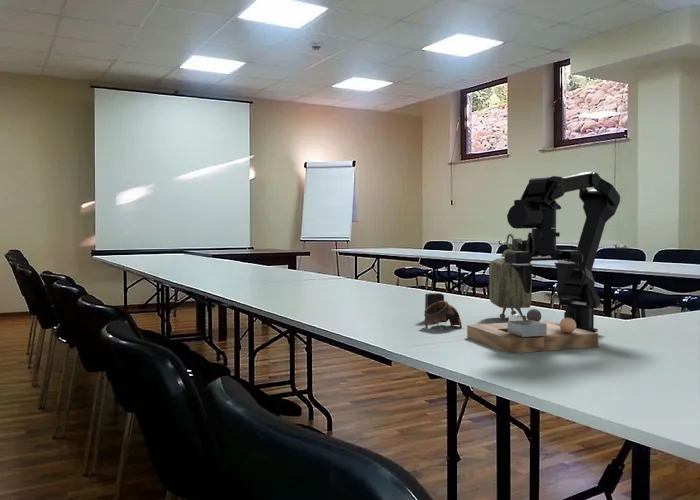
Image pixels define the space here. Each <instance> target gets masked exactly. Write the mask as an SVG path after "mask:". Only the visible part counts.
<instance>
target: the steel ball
mask: <svg viewBox="0 0 700 500" xmlns="http://www.w3.org/2000/svg"><path fill="white" fill-rule="evenodd" d="M521 320H524V319H523V317H522V316H521V315H520V313H516V314H513V315H511V314H510V316H509V318H508V321H521ZM508 321H507V322H508Z"/></svg>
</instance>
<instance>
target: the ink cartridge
mask: <svg viewBox="0 0 700 500" xmlns="http://www.w3.org/2000/svg"><path fill="white" fill-rule="evenodd" d="M424 295H425V296H424V297H425V300H424V301H425V303H424V309H425V310H426V309H427V308H428V307H429V306H430V305H432V304H434V303H436V302H439V301H445V295H444V294H443V293H440V292H434V293H433V292H427V293H425V294H424ZM425 310H424V311H425ZM434 313H436V312H435V310H433V311H432V312H430V313H429V314H434Z"/></svg>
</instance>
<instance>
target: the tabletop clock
mask: <svg viewBox="0 0 700 500" xmlns="http://www.w3.org/2000/svg"><path fill="white" fill-rule="evenodd" d="M510 237H511V241H512V240H514V239H515V237H514V235H513V234H512V233H508V234H507V236H506V246H507V248H508V249H505V250H504V251H503V252H502V253H501V258H496V259H493V260H492V261H490V262H489V266H488V289H489V290H488V292H489V294H488V296H489V300H490V301H489V302H491V303H492V304H493V305H495V306H497V307H498V308H501V309H502V313H500V314H499V319H502V320H503V319H505V318H506V314H505V312H506V310H507V309H511V311H510V316H511V315H513V314H517V312H518V314H519V315H521V316H522V317H523V319H524V320H527V315H524V314H523V311H522V310H521V309H529V308H531V306H532V294H533V293H532V291H533V290H532V289H533V288H532V287H533V281H532V280H533V277H531V287H530V292H529V293H526V292H525V290H524V287H523V284H522V282H521V279H520V276H519V274H518V272H517V271H516V270H515V268H514V267H511V266H510V265H509V264H512V263H505V255H506V253H507V252H511V251H513V250H512V242H511V243H509V239H510ZM502 257H503V258H502ZM531 263H532V262H530V263H529V265H532V264H531Z"/></svg>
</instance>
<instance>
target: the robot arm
mask: <svg viewBox="0 0 700 500" xmlns="http://www.w3.org/2000/svg"><path fill="white" fill-rule="evenodd" d="M588 188H593V189H590V190H588ZM577 190H579V193H578V195H579V196H578V198H579V199H580V200H581V202H582V203H583V205H582V209H583V211H584V214H585V221H584V224H583V227H582V230H581V234H580V238H579V239H578V243H577V246H576V250H574V249H573V250H571V249H564V250H563V249H558V248H557V237H561V235H560V234H561V233H560V232H557V210H559V211H560V210H562V206H561V205H560V204H559V203H558V202H557V201H556V200H558V199H560V198H561V197H563V196H564V195H565V193H568V192H569V193H570V192H573V191H577ZM620 202H621V196H620V193H619V192H618V190H617V189H616V187H615V186H614V185H613V184H612V183H610V182H609V181H606V180H605V179H603V178H602V177H601V176H600V174H599V173H597V172H595V171H587V172H579V173H578V174H573V175H567V176H563V177H562V176H557V175H549V176H538V177H531V178H529V180H528V183H527V185H526V186H525V189H524V191H523V193H522V195H521V197H520V199H515V200H514V201H513V205H512V206H511V207H510V208H509V209H508V213H507V214H506V218H507V223H508V225H510V227H511V228H513V229H516V230H517V229H521V230H522V229H531V232H528V234H527V239H526V240H523V239H522V238H514V240H512V239H511V241H512V242H511V244H512V250H513V251H511V252H507V253H506V255H505V257H504V258H505V263H512V264H509V265H510V266H511V267H514V268H515V270H516V271H517V272H518V274H519V276H520V279H521V282H522V284H523V287H524V290H525V292H526V293H529V292H530V287H531V277H532V276H533V266H534V265H532V264H531V265H529V263H532V262H536V261H537V262H541V261H543V262H544V261H545V262H547V261H557V262H554V263H553V264H554V266H555V268H556V270H557V271H556V273H557V276H556V277H557V278H556V279H557V280H556V281H557V282H556V285H557V286H556V287H557V288H556V292H557V296H558V301H559V304H560V306H565V311H564V313H563V314H564V315H563V319H564V318H572V319H573V320H574V321H575V323H576V328H578V329H582V330H586V331H590V332H596V331H599V330H598V328H596V327H594V326H595V325H594V324H595V323H594V321H595V320H594V319H595V318H594V317H595V316H594V310H595V309H598V308H600V305H601V301H602V300H601V297H600V296H599V294H598V292H597V291H596V289H595V285H596V282H595V278H594V276H593V273H592V271H593V267H594V263H595V260H596V256H597V253H598V250H599V246H600V243H601V238H602V235H603V233H604V230H605V229H604V228H605V226H606V223H607V222H608V221H609V220H610V219H611V218H612V217H613V216H615V214H616V212H617V210H618V207H619V205H620ZM532 278H533V277H532Z"/></svg>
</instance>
